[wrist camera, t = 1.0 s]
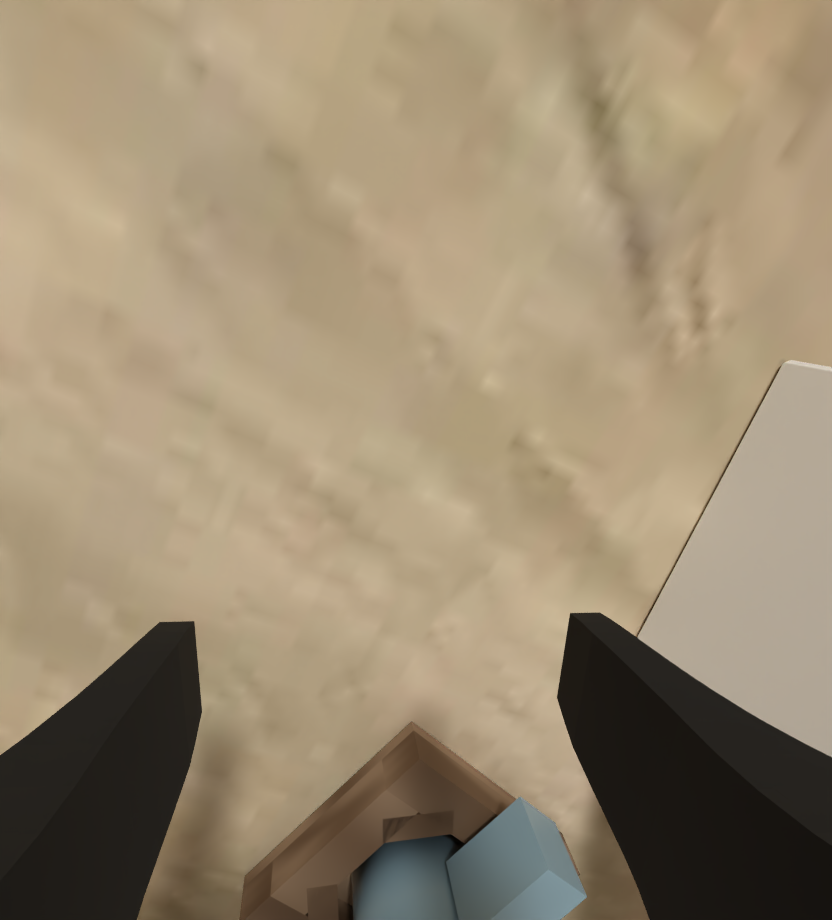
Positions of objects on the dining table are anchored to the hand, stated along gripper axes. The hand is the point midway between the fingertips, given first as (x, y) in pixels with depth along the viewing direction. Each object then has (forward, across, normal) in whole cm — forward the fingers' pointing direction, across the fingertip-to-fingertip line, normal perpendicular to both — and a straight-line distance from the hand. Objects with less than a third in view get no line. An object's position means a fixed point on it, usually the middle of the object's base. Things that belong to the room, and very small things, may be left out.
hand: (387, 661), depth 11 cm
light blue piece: (+9, -4, +16) cm, 19 cm away
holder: (+9, -2, +18) cm, 20 cm away
